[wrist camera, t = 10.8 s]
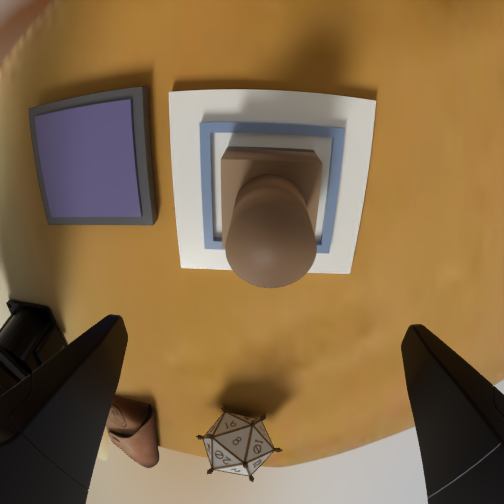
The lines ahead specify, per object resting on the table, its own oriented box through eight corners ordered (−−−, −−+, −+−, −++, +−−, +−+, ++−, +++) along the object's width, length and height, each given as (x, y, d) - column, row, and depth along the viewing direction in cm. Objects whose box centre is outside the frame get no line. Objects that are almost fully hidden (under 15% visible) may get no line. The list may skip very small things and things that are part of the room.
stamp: (228, 223, 20) (210, 298, 14) (227, 146, 18) (204, 188, 11) (306, 226, 20) (324, 302, 14) (313, 149, 18) (342, 194, 11)
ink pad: (54, 219, 21) (47, 226, 20) (37, 106, 17) (26, 109, 16) (157, 219, 21) (152, 226, 20) (148, 85, 16) (140, 86, 15)
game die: (228, 394, 37) (171, 445, 31) (252, 381, 31) (182, 446, 24) (276, 440, 35) (225, 494, 29) (310, 436, 29) (250, 505, 23)
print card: (182, 263, 23) (179, 271, 22) (171, 91, 17) (166, 92, 16) (347, 269, 22) (351, 277, 22) (372, 100, 16) (378, 101, 15)
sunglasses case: (90, 388, 33) (101, 433, 28) (142, 378, 36) (158, 422, 32) (112, 442, 42) (124, 476, 37) (150, 434, 45) (164, 467, 41)
